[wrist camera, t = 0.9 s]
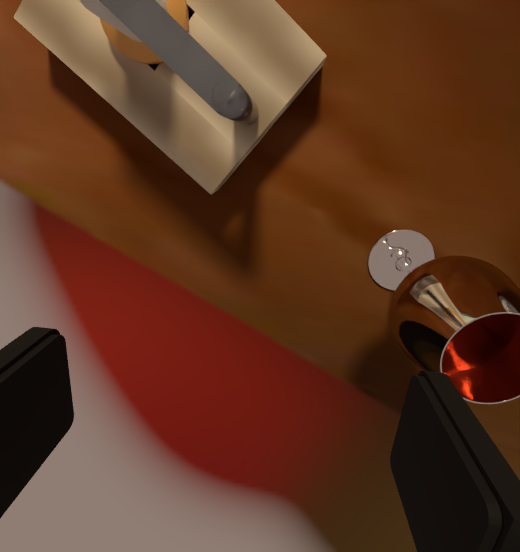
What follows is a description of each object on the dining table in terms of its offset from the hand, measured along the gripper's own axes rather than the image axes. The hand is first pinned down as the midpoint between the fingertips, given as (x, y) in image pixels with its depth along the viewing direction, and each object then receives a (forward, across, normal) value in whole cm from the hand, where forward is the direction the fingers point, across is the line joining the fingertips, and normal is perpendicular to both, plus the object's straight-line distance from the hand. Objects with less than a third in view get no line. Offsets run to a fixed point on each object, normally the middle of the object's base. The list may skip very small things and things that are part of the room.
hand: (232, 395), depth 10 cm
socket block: (+28, +9, -14) cm, 32 cm away
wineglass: (+28, -13, +3) cm, 31 cm away
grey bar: (+24, +8, -13) cm, 28 cm away
